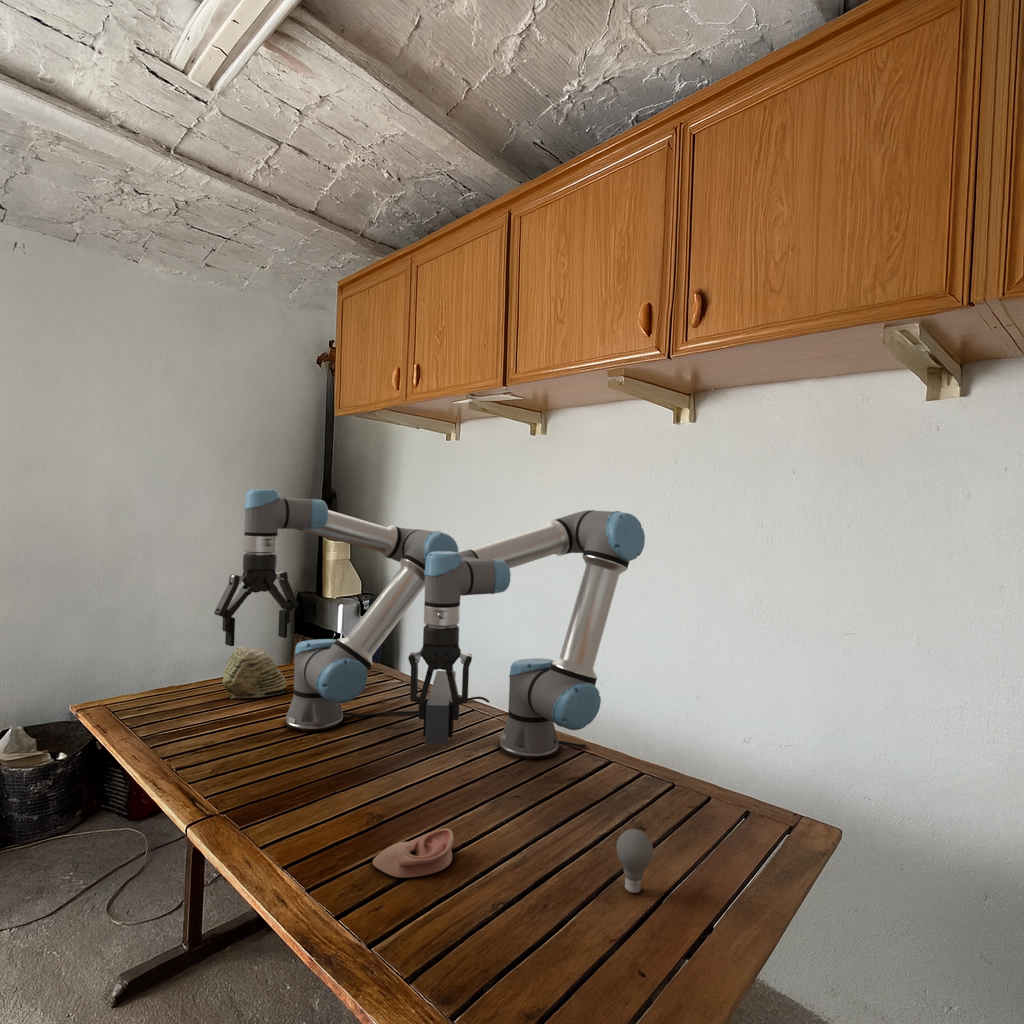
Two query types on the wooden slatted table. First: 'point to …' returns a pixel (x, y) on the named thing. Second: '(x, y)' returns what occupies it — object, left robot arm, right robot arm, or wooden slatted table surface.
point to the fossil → (252, 674)
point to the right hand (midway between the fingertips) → (438, 734)
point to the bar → (438, 711)
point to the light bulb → (634, 857)
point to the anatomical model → (417, 855)
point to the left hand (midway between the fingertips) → (257, 641)
